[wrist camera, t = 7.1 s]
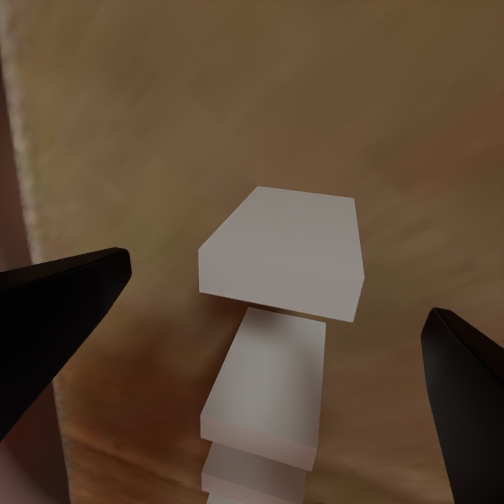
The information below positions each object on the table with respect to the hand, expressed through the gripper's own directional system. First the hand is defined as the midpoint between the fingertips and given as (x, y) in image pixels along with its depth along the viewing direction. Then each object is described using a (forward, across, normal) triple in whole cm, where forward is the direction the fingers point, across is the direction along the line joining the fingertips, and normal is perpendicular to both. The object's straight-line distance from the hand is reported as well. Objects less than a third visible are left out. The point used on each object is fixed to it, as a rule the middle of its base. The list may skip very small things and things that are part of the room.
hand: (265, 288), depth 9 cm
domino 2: (+8, 0, +13) cm, 15 cm away
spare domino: (+8, 0, 0) cm, 9 cm away
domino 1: (+8, 0, +8) cm, 12 cm away
